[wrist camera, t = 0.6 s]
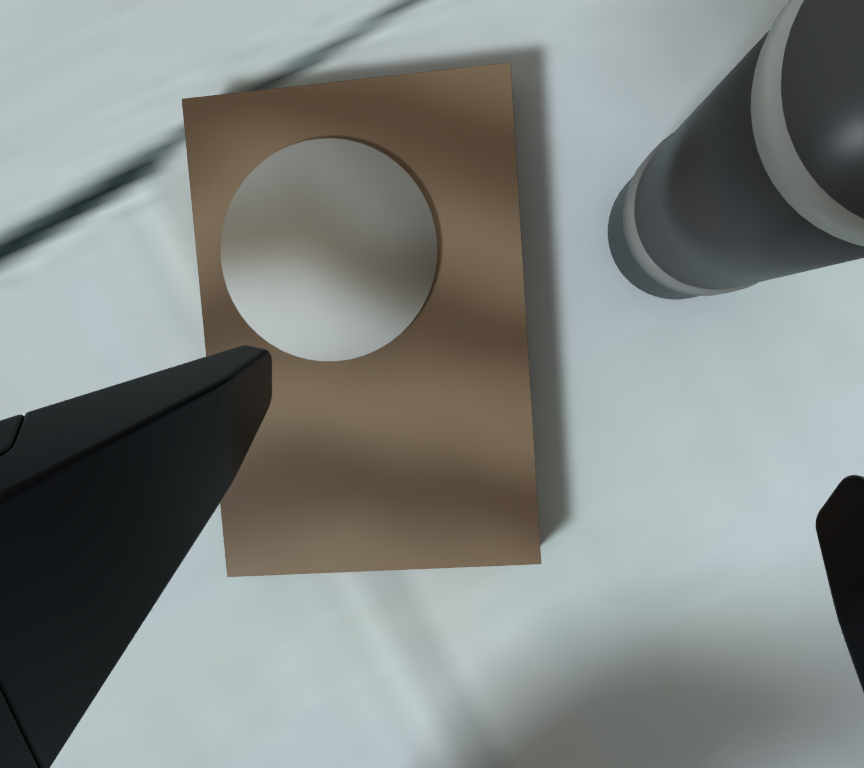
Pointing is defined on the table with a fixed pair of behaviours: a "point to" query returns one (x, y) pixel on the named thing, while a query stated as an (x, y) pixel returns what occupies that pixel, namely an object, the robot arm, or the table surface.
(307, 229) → the mount board
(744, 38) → the table surface
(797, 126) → the dark grey cylinder
